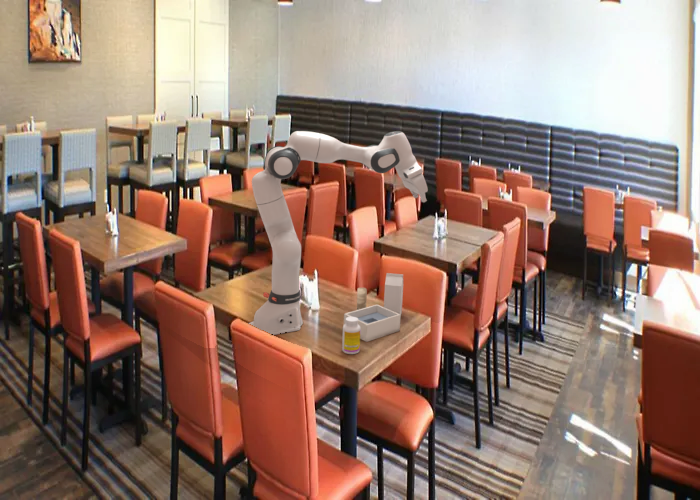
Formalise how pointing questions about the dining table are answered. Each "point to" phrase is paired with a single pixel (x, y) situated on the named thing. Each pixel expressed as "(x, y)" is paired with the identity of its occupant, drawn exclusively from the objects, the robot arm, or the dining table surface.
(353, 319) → the supplement bottle
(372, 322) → the socket box
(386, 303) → the milk carton
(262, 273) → the dining table surface
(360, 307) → the peg
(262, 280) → the dining table surface
